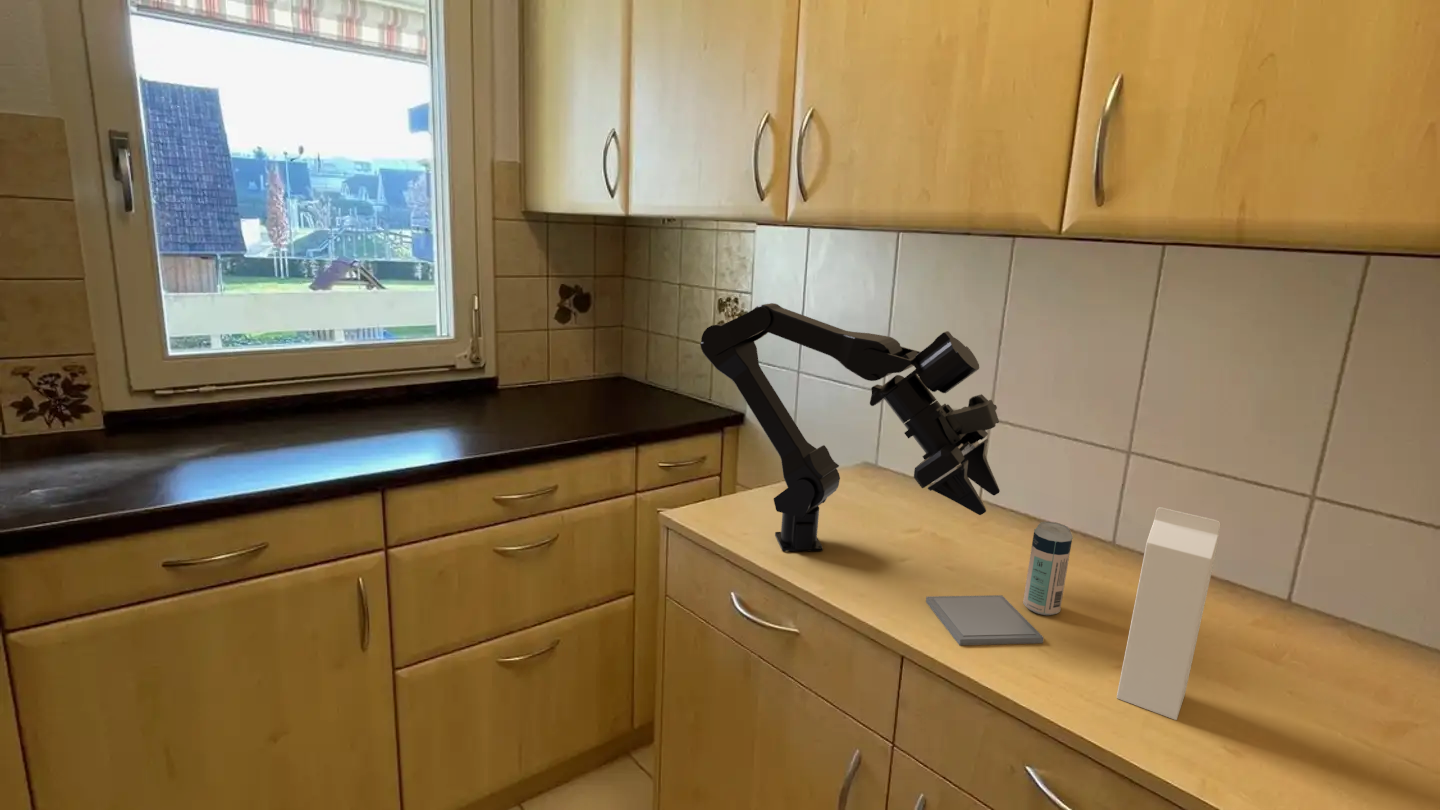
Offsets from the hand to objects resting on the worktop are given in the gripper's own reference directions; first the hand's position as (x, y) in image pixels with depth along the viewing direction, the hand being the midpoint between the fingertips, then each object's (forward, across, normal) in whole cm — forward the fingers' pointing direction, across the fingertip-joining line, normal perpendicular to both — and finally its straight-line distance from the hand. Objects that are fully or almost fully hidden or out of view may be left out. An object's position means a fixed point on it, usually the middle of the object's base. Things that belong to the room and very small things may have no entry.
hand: (990, 503), depth 107 cm
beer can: (+16, 0, +4) cm, 16 cm away
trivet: (+11, -8, +8) cm, 16 cm away
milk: (+25, -15, -6) cm, 30 cm away
